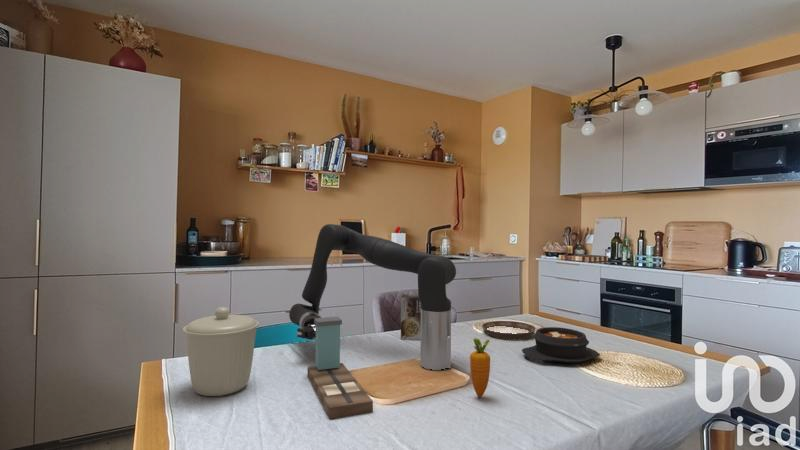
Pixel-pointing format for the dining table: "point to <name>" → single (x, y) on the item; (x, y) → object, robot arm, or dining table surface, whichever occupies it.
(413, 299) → the coffee box
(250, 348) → the canister
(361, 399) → the grooved wooden base
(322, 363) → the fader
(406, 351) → the dining table surface
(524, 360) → the dining table surface
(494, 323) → the plant saucer
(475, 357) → the carrot
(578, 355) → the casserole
